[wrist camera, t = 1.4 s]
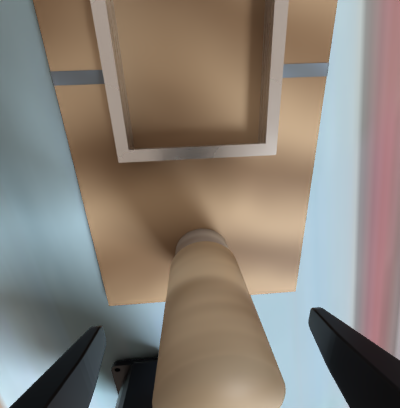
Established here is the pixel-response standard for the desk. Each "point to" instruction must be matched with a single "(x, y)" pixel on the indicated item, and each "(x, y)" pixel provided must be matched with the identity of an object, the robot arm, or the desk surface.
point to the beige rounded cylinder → (212, 334)
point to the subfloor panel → (190, 134)
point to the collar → (266, 145)
